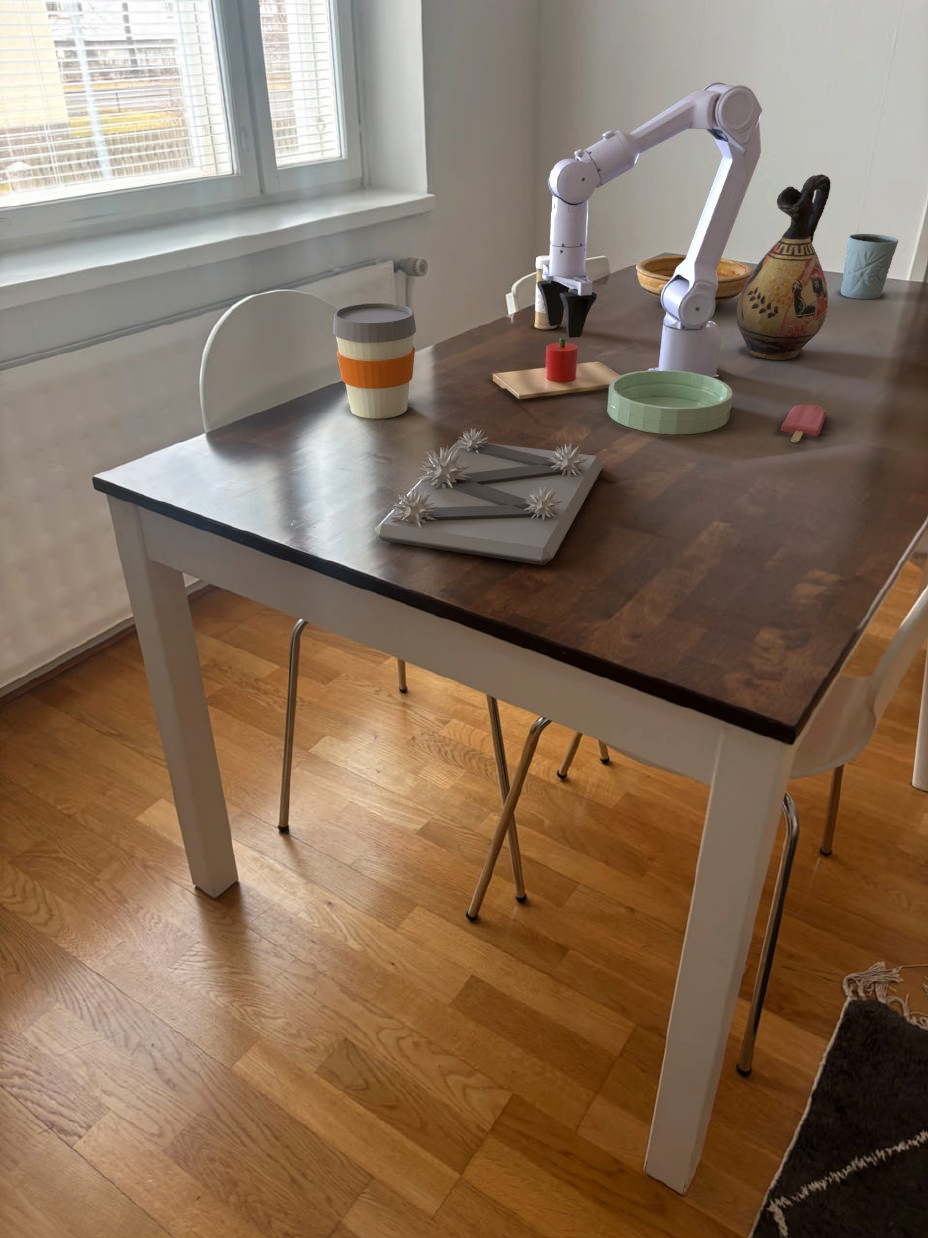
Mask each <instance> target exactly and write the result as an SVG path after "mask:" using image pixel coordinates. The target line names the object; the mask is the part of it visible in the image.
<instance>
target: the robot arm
mask: <svg viewBox="0 0 928 1238" xmlns="http://www.w3.org/2000/svg"><path fill="white" fill-rule="evenodd" d="M762 113H763V108H762V105H761V104H760V102H759V100H758V98H757V96H756V95H755V93H754V91H753V90H752V89H751V88H749V87H748V86H746V85H742V84H741V85H740V84H738V85H733V84H732V85H731V84H726V83H723V82H712V83H709V84H708V85H707V86H705V87H704V88H703V89H698V90H696V91H693V92H691V93H690V94H688V95H686V96H685V97H684V98H682V99H680V100H679V101H677V102H676V103H674V104H673V105H672V106H670V107H669V108H668V107H667V109H665V110H663V111H662V112H661V113H659V114H657V115H656V116H654V117H652V119H651V118H650V120H648V121H647V122H644V123H643V124H642V125H641V126H639V127H637V128H636V129H634V130H633V131H631V132H629V133H628V132H625V131H623V130H616V131H614V132H613V131H612V130H607V131H606V132H604V133H602V134H601V135H602V138H603V139H600V140H599V141H597V142H595V143H594V144H592V145H591V146H589V147H586V148H585V149H584V150H582V149H580V148H579V149H578V150H576V151H574V158H564V159H562V160H560V161H558V162H557V163H556V164H554V166H553V168H552V169H551V171H550V175H549V177H548V178H547V185H548V189H549V190H550V192H551V194H552V202H551V205H552V206H551V212H550V232H549V233H550V235H549V256H550V262H549V264H544V265H543V274H542V278H543V279H545V281H538V282H537V281H536V282H537V286H538V288H539V290H540V292H541V295H542V298H543V301H544V305H545V310H546V316H547V321H548V325H549V326H556V325H557V326H561V325H562V323H563V319H564V314H565V330H566V335H567V338H569V339H573V338H581V336H582V333H583V331H584V327H585V323H586V320H587V317H588V315H589V312H590V310H591V309H592V307H593V304H594V303H595V302H596V300H597V298H598V294H597V293H596V292H594V291H593V281H592V280H590V279H589V277H588V274H587V272H586V260H587V243H588V241H587V239H588V223H589V199H590V198H591V197H592V195H593V193H594V191H595V189H599V188H600V187H602V186H604V185H605V184H607V183H609V182H611V181H612V180H614V179H616V178H618V177H620V176H621V175H623V174H624V173H626V172H628V171H629V170H632V169H633V168H635V166H636V164H637V160H638V158H639V156H640V154H642V153H644V152H646V151H648V150H650V149H652V148H654V147H656V146H657V145H659V144H661V143H663V142H665V141H667V140H670V139H671V138H673V137H674V136H676V135H678V134H680V133H682V132H685V131H686V130H689V129H692V130H706V131H707V132H708V133H709V134H710V135H711V136H712V137H713V139H714V141H715V143H716V145H717V147H718V149H719V152H720V153H721V156H722V158H721V161H720V164H719V167H718V169H717V172H716V175H715V177H714V180H713V183H712V186H711V188H710V191H709V194H708V196H707V199H706V202H705V205H704V208H703V210H702V213H701V215H700V218H699V221H698V224H697V226H696V229H695V232H694V234H693V237H692V240H691V242H690V246H689V248H688V251H687V254H686V255H685V256H686V259H685V260H684V261H683V262H682V263H681V264H680V265H679V266H678V267H677V268H676V270H675V273H674V275H673V277H672V278H671V280H670V281H669V282H668V283H667V284H666V285H665V287H664V288H663V290H662V293H661V300H660V303H661V306H662V308H663V310H664V311H665V315H664V318H663V322H662V333H661V340H660V341H661V342H660V351H659V361H658V367H650V368H648V370H677V371H685V372H693V373H697V374H702V375H706V376H710V377H712V378H716V377H717V378H718V377H719V375H718V374H717V370H718V364H719V357H720V351H721V341H722V339H721V337H722V336H721V331H720V328H719V326H718V325H717V323H715V322H714V321H710V320H711V319H712V317H713V316H714V313H715V311H716V307H715V295H716V291H717V289H718V278H717V267H718V264H719V262H720V259H721V258H723V257H722V256H723V254H724V250H725V249H726V246H727V244H728V241H729V238H730V235H731V233H732V230H733V228H734V225H735V222H736V220H737V217H738V214H739V212H740V209H741V207H742V204H743V202H744V199H745V196H746V194H747V191H748V189H749V186H750V184H751V181H752V179H753V176H754V174H755V170H756V168H757V165H758V164H759V163H758V162H759V161H760V158H761V153H762V142H761V125H760V124H761V123H760V120H761V116H762ZM570 289H571V291H570Z"/></svg>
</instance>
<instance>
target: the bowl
mask: <svg viewBox="0 0 928 1238" xmlns="http://www.w3.org/2000/svg"><path fill="white" fill-rule="evenodd" d="M620 375H621V376H619V377H617V378H615V379H614V380H613V381H611V382H610V385H609V388H608V397H607V407H606V409H607V410H606V412H607V414H608V416H609V417H610V419H612V420H613V421H615V422H616V423H618V424H620V425H623V426H625V427H626V428H629V429H634V430H636V431H641V432H646V433H652V434H653V433H654V434H659V435H661V434H662V435H672V436H673V435H675V436H676V435H696V434H703V433H707V432H711V431H714V430H718V429H719V428H721V427H723V426H725V425H726V424H727V423H728V421H729V420H730V415H731V408H732V402H733V394H734V393H733V389H732V387H730V386H729V385H728V384H727V383H726V382H724V381H722V380H720V379H718V378H716V377H712V376H706V375H702V374H697V373H693V372H685V371H677V370H649V369H647V370H639V371H633V372H628V373H624V374H620Z"/></svg>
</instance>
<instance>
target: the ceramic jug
mask: <svg viewBox="0 0 928 1238" xmlns="http://www.w3.org/2000/svg"><path fill="white" fill-rule="evenodd" d="M831 184H832V183H831V179H830V178H829V176H827V175H825V174H822V173H821V174H817V175H815V174H814V175H811V176H809V177H808V178H807V180H805V182H804V183H803V185H802V188H801V190H799V189H797V188H795V187H794V186H791V185H790V186H786V188H784V189H783V190H782V191H781V192H780V193H779V195H778V196H777V199H776V205H777V208H778V210H780V211H781V212H783V213H784V214H785V215H787V216H789V217H790V225H789V227H788V228H787V230H786V231H785V232H784V233H783V234H782V236H781V238H780V239H779V240H778V241H777V242H776V243H775V244H774V245H773V246H772V247H771V248H770V250H769V251H767V252H766V254H765V255H764V256H763V257H762V259H761V260H760V261H759V262H758V263H757V265H756V266H755V268H754V269H752V270H753V271H752V273H751V275H750V276H749V278H748V280H747V281H746V283H745V285H744V288H743V290H742V292H741V293H740V294H739V298H738V300H737V301H738V302H737V305H736V321H737V328H738V330H739V332H740V334H741V336H742V338H743V341H744V343H745V346H746V348H745V350H744V351H745V352H746V353H747V354H748V355H749V356H751V357H754V358H762V359H765V360H771V361H786V360H789V359H794V358H795V357H797V356H798V355H799V352H800V351H801V350H802V349H803V348H804V347H805V346H806V345H807V344H808V343H809V342H810V341H811V340H812V339H813V338H814V337H815V336H816V335H817V334H818V333H819V332H820V330H821V329H822V326H823V324H824V322H825V321H826V317H827V312H828V303H829V293H828V284H827V280H826V276H825V273H824V269H823V267H822V264H821V262H820V259H819V256H818V254H817V251H816V249H815V247H814V245H813V241H814V236H815V232H816V231H817V228H818V225H819V222H820V220H821V218H822V216H823V213H824V210H825V207H826V205H827V204H828V203H827V202H828V199H829V198H830V197H829V196H830V191H831Z"/></svg>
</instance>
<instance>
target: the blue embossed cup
mask: <svg viewBox="0 0 928 1238" xmlns="http://www.w3.org/2000/svg"><path fill="white" fill-rule="evenodd" d="M898 245H899V239H898V238H896V237H893V236H889V235H885V234H876V233H855V234H850V235H848V240H847V248H846V256H845V260H844V261H845V262H844V267H843V272H842V273H843V274H842V283H841V288H840V294H841V295H842V296H844V297H847V298H850V299H858V300H874V299H879V298H880V297H881V296H882V294H883V290H884V288H885V283H886V279H887V278H888V274H889V270H890V268H891V265H892V263H893V262H892V261H893V257H894V256H895V253H896V250H897V246H898Z"/></svg>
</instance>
